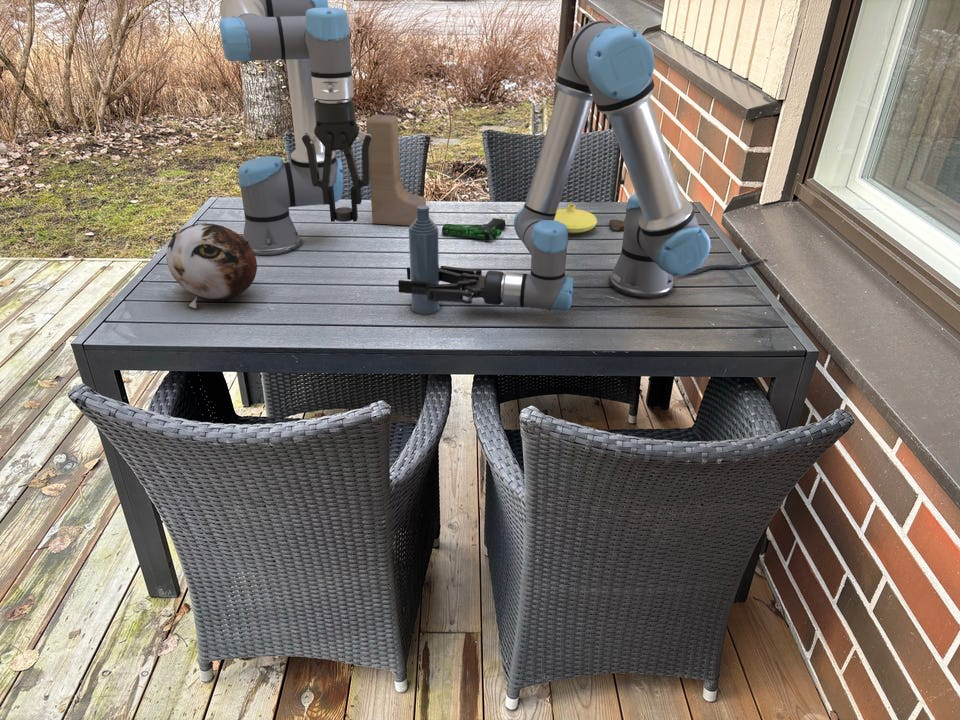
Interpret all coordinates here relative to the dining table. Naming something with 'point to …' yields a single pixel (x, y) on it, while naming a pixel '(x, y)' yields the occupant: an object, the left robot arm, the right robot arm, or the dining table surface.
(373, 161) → the decorative block
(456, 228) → the handgun
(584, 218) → the yellow lid
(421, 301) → the bottle
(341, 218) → the cap
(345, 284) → the dining table surface
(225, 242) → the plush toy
